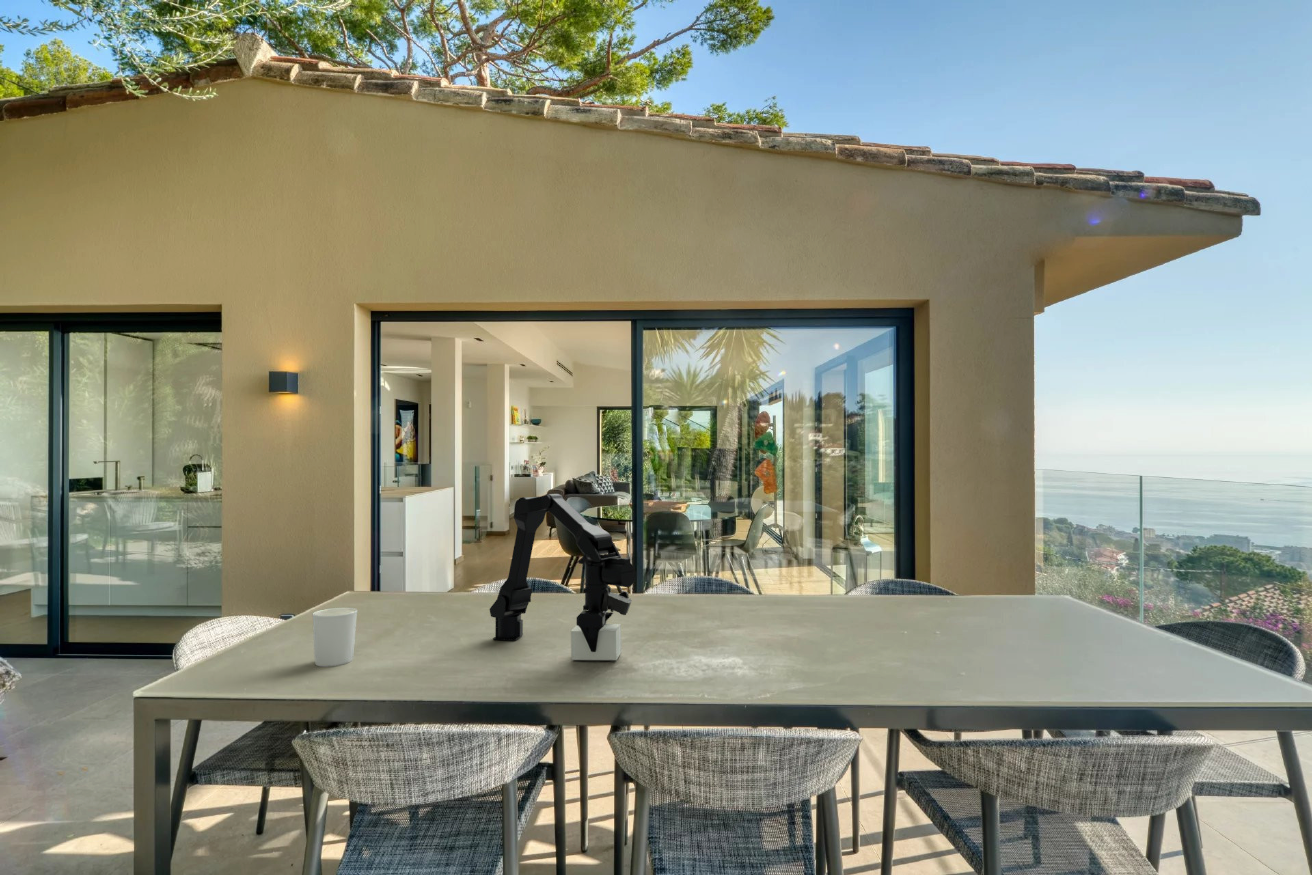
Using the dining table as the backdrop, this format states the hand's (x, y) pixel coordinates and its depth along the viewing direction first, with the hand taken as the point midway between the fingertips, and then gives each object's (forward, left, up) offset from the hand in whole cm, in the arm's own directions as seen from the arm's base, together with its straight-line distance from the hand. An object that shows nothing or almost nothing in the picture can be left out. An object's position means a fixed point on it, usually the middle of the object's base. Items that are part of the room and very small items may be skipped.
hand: (596, 647), depth 159 cm
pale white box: (0, 0, -2) cm, 2 cm away
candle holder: (-63, -8, -3) cm, 64 cm away
